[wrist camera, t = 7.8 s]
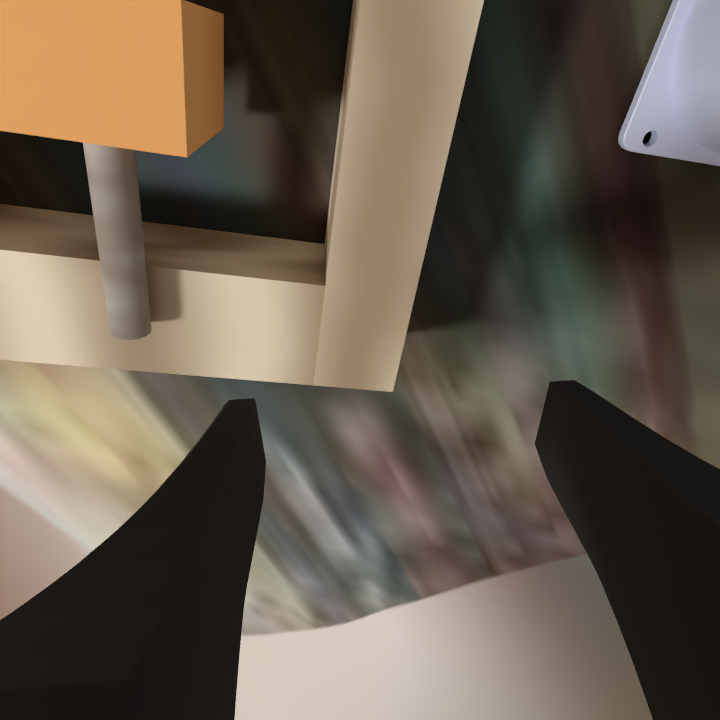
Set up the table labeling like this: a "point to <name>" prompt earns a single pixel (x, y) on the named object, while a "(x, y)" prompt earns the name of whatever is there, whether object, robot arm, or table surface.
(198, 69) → the bracket
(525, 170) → the table surface
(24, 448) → the table surface
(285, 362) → the rectangular frame
